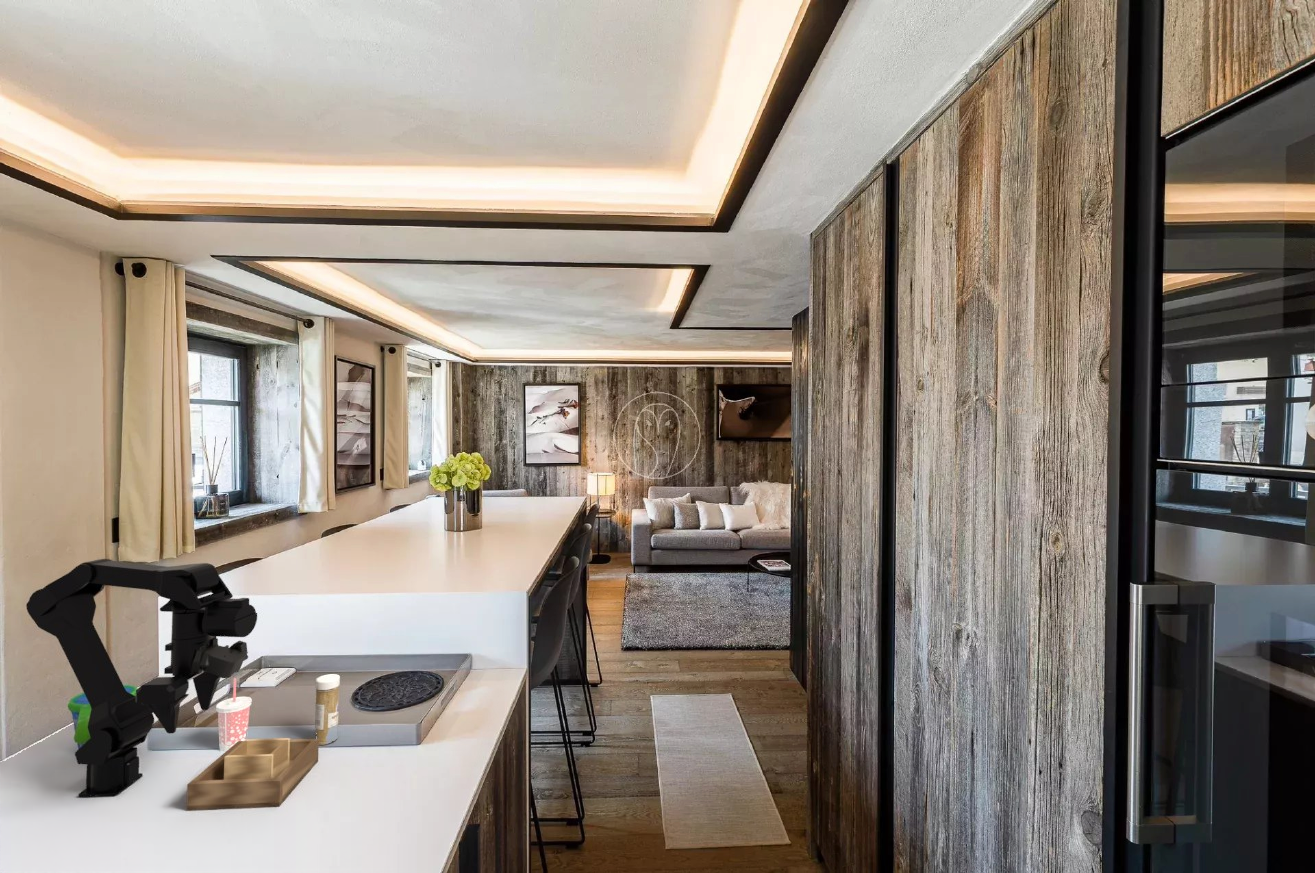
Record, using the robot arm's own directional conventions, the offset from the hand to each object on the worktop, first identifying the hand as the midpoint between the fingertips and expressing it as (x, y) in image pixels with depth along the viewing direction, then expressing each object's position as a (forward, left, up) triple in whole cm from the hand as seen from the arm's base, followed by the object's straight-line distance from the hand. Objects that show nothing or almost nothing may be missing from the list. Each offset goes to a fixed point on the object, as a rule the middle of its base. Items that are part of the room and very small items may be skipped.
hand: (189, 720), depth 109 cm
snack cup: (-28, +19, -13) cm, 36 cm away
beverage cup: (-1, +16, -13) cm, 20 cm away
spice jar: (+17, +17, -13) cm, 27 cm away
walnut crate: (+12, +1, -12) cm, 17 cm away
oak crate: (+12, +1, -12) cm, 16 cm away
